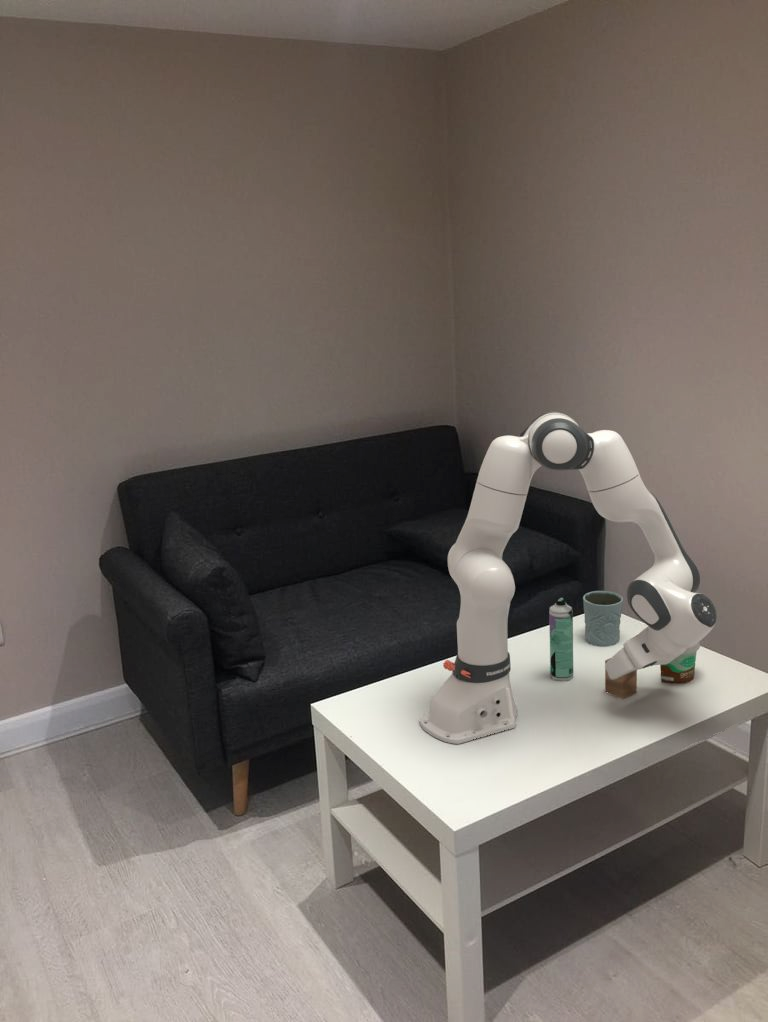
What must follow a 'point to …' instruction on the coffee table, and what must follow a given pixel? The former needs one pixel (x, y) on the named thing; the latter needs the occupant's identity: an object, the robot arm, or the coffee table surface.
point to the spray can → (561, 641)
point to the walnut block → (621, 684)
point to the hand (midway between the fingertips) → (625, 669)
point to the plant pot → (602, 617)
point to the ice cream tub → (680, 667)
